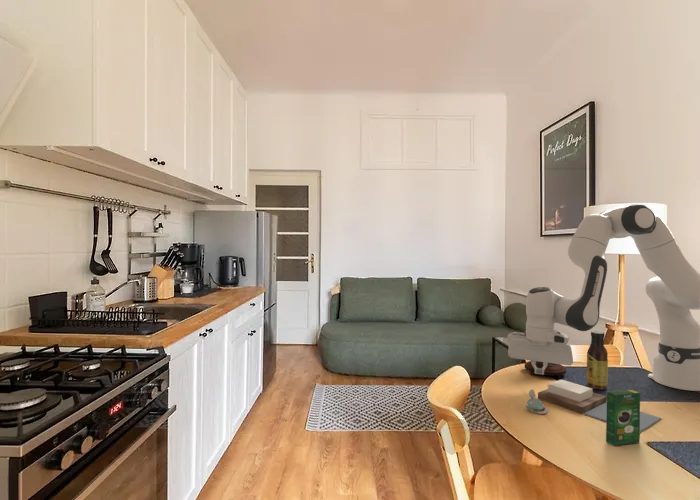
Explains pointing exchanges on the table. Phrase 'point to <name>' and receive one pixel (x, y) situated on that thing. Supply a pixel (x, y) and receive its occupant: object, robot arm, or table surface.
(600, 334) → the sauce bottle
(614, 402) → the coffee box
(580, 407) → the board
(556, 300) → the robot arm
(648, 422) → the mat
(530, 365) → the stacked ball statuette
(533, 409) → the pacifier
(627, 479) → the table surface
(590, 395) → the tile
